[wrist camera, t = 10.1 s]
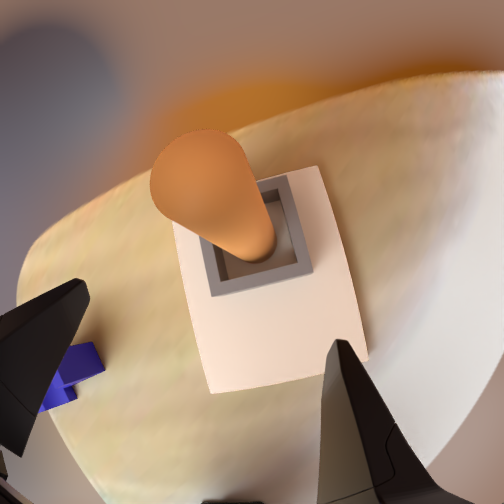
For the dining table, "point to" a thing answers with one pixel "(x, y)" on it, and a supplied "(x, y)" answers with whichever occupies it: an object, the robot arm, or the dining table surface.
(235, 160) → the toggle bar
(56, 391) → the cable clip
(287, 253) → the keeper plate
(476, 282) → the dining table surface
